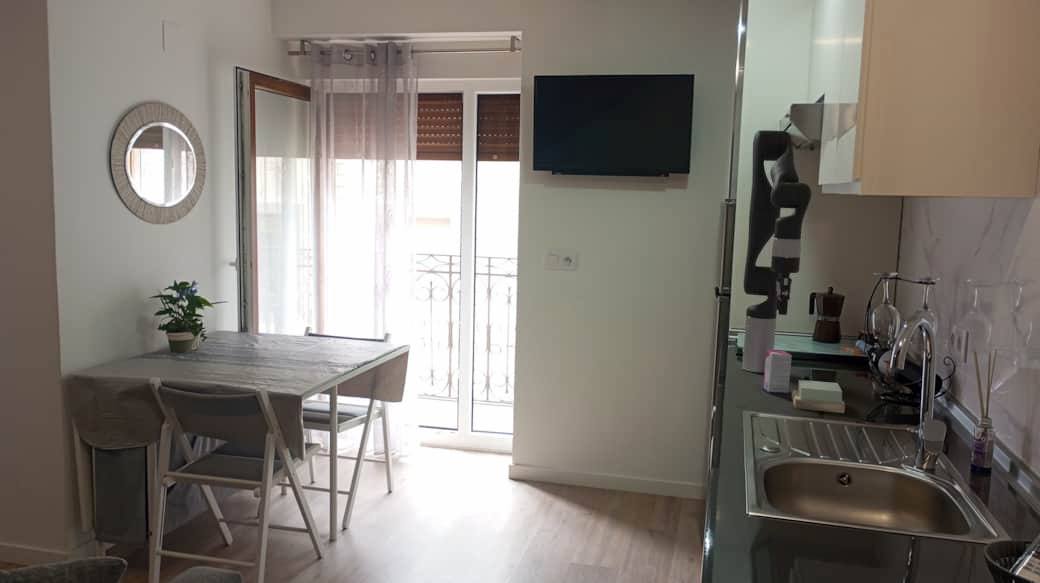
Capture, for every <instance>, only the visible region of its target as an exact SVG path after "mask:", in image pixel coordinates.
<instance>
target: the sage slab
mask: <svg viewBox="0 0 1040 583" xmlns="http://www.w3.org/2000/svg"><path fill="white" fill-rule="evenodd" d="M797 383H798V384H797V390H798V392H799V396H800V399H805V400H815V401H826V402H836V403H841V401H842V400H843V391H842V389H841V387H840V385H839V383H838V382H830V381H829V382H828V381H826V382H825V381H818V380H817V381H816V380H808V379H807V380H805V379H804V380H803V379H798V382H797Z"/></svg>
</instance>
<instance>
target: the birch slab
mask: <svg viewBox="0 0 1040 583" xmlns="http://www.w3.org/2000/svg"><path fill="white" fill-rule="evenodd" d="M791 400H792V402H793V406H794V409H799V410H807V411H808V410H809V411H810V410H811V411H817V412H818V411H819V412H830V413H838V414H839V413H840V414H845V409H846V404H845V402H844V400H843V399H842V401H841V403H836V402H826V401H815V400H805V399H800V396H799V392H798V389H795V388H794V389H792V390H791Z"/></svg>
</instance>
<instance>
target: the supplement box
mask: <svg viewBox="0 0 1040 583" xmlns="http://www.w3.org/2000/svg"><path fill="white" fill-rule="evenodd" d="M792 357H793V355H792V354H790V353H789V352H787V351H783V350H774V351H770V350H766V359H765V370H764V373H763V380H762V382H763V383H762V390H763V391H764V392H766V393H767V394H769V395H789V391H790V390H789V388H790V380H791V378H790V377H791V370H792V369H791V368H792Z"/></svg>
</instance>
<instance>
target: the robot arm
mask: <svg viewBox="0 0 1040 583" xmlns="http://www.w3.org/2000/svg"><path fill="white" fill-rule="evenodd" d="M793 148H794V147H793V140H792V136H791V134H790V132H788V131H786V130H769V129H767V130H762V129H761V130H757V131H756V132H755V134H754V136H753V142H752V174H751V175H752V177H751V178H752V179H751V180H752V182H751V183H752V184H751V193H750V202H749V216H748V237H747V238H748V240H747V253H746V258H745V265H744V266H745V267H744V274H743V290H744V293H745V294H746V295H750V296H764V297H767V299H766V300H764V301H762V302H760V303H757V304H753V305H750V306H748V307H747V308H746V311H745V312H746V314H745V326H744V342H743V352H742V353H743V354H742V367H741V368H742V370H744V371H747V372H751V373H760V374H762V373H763V374H764V370H765V359H766V350H770V351H775V343H776V342H775V341H776V340H775V339H776V326H777V314H778V315H780V316H786V315H788V304H789V301H790V299H791V297H790V295H791V293H792V292H791V291H792V285H793V279H792V278H791V277H790V274H798V273H799V272H800V264H801V251H802V245H801V242H802V241H801V238H802V228H803V227H802V226H803V221H804V218H805V214H806V211H807V209H808V207H809V204H810V201H811V198H812V190H811V187H810V186H809V184H808V183H803V182H800V179H799V175H798V173H797V170H796V166H795V157H794V156H795V155H794V149H793ZM765 161H766V162H774V163H773V164H772V166H771V168H770V179H771V181H772V185H771V183H770V181H769V180H770V179H769V178H768V176H767V173H766V170H765ZM781 209H794V211H793V213H792V214H790V215H787V216H781ZM772 237H773V243H772V251H771V259H770V260H771V263H770V266H762V265H761V266H759V265H756V264H757V260H758V258H759V255H760V254H761V252H762V251H763V250H764V247H765V246H766V244H767V243H768V242H769V241H770V240H771V238H772ZM777 312H778V313H777Z"/></svg>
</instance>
